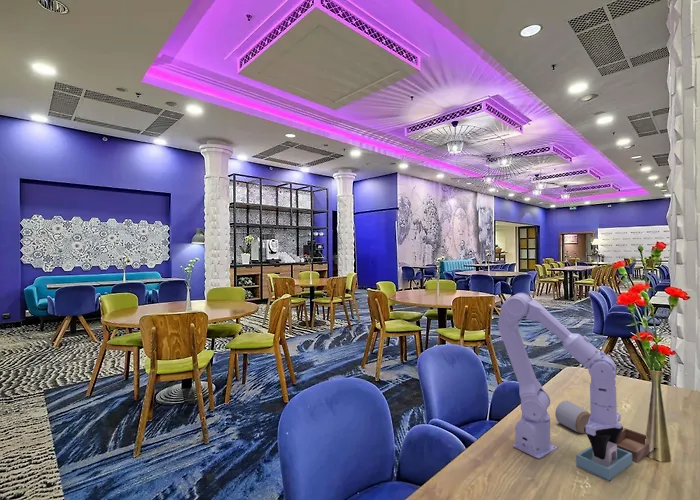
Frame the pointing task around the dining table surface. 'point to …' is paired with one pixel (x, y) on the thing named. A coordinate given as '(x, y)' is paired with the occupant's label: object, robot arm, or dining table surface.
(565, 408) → the ceramic mug
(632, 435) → the walnut tray
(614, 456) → the letter block
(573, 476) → the dining table surface
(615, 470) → the teal tray
